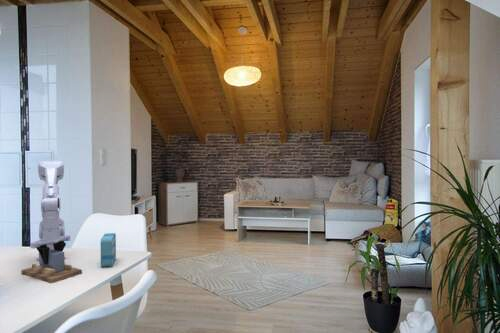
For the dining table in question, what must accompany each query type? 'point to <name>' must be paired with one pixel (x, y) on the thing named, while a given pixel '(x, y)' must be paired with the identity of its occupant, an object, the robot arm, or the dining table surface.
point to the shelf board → (50, 273)
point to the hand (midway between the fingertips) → (51, 262)
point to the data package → (108, 249)
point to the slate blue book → (54, 260)
